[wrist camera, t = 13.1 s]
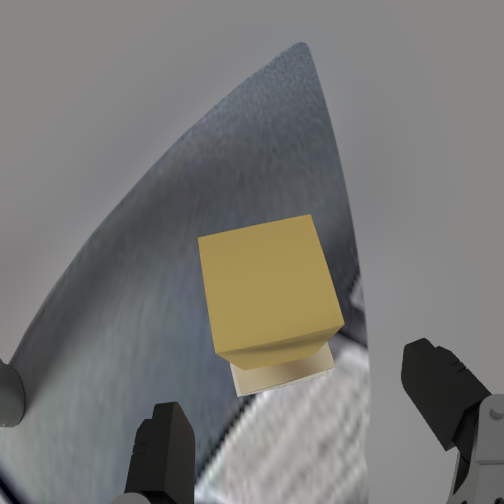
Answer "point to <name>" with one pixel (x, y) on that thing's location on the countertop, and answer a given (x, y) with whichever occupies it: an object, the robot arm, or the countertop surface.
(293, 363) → the birch tower top
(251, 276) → the mustard block
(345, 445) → the countertop surface
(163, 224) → the countertop surface
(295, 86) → the countertop surface
